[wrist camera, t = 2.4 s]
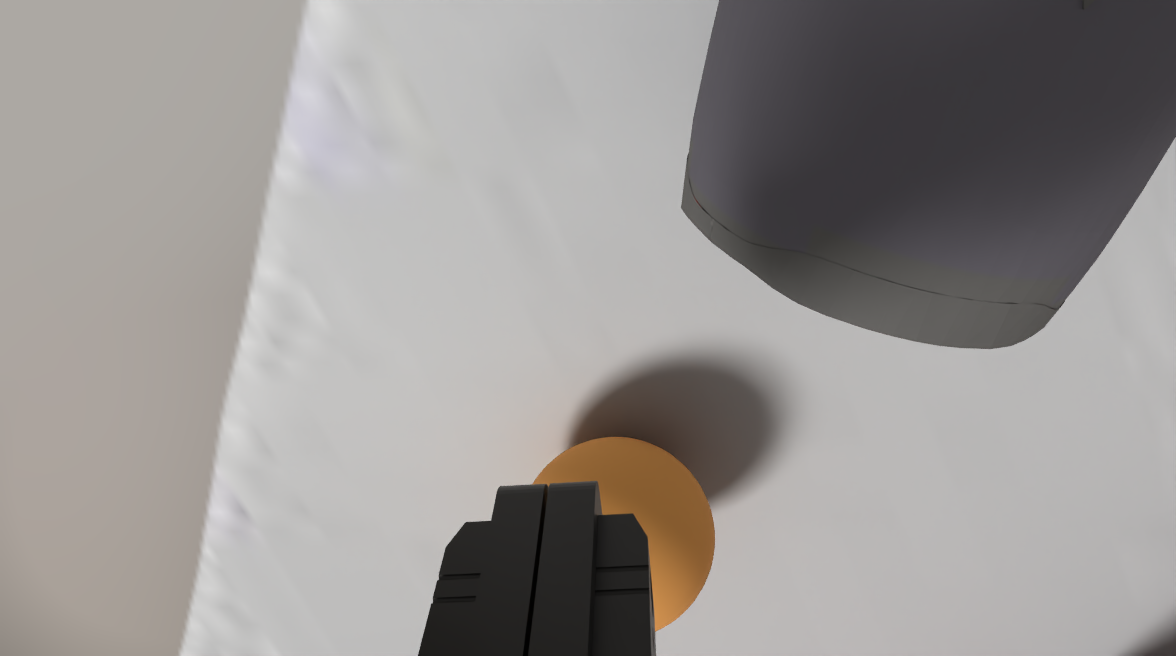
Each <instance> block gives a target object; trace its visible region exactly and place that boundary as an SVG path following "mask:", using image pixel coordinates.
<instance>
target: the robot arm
mask: <svg viewBox="0 0 1176 656" xmlns="http://www.w3.org/2000/svg"><path fill="white" fill-rule="evenodd" d="M418 656H656V645H655V616H654V601H653V590H652V579H651V568H650V557H649V545H648V537H647V535H646V533H645V532H644V530H643V529H642V527H641V525H640V524H639V522H638V521H637V519H636V517H635V516H634V514H633V513H630V514H611V515H602V507H601V499H600V491H599V485H598V481H584V482H566V483H550V485H549V487H548V485H547V484H533V485H515V486H500V487H499V488H498V491H497V494H496V499H495V504H494V509H493V514H492V519H491V521H480V522H466V523H465V524H464V525H463V526H462V528H461V529H460V530H459V531H458V533H457V534H456V535H455V536H454V538H453V539H452V540H451V541H450V543H449V544H448V545H447V546H446V549H445V553H444V557H443V561H442V564H441V568H440V572H439V580H437V584H436V588H435V592H434V595H433V604H431V607H430V611H429V615H428V619H427V623H426V627H425V630H424V634H423V638H422V642H421V646H420V650H419V654H418Z"/></svg>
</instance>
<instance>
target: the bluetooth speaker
mask: <svg viewBox="0 0 1176 656" xmlns="http://www.w3.org/2000/svg"><path fill="white" fill-rule="evenodd" d="M1175 137H1176V0H719V4H718V8H717V13H716V17H715V21H714V25H713V30H712V34H711V38H710V43H709V47H708V52H707V56H706V61H705V66H704V70H703V75H702V80H701V84H700V89H699V94H698V98H697V103H696V108H695V113H694V118H693V125H692V133H691V141H690V148H689V154H688V156H687V164H686V172H685V180H684V189H683V197H682V205H681V208H682V210H683V211H684V213H685V214H686V216H687V217H688V218H689V219H690V220H691V221H692V223H693V224H694V225H695V226H696V227H697V228H698V229H699V230H700V231H701V232H702V233H703V234H704V235H705V236H706V237H707V238H708V239H709V240H710V241H711V242H712V243H713V244H714V245H716V246H717V247H718V248H720V249H721V250H722V251H724V252H725V253H726V254H728V255H729V256H730V257H732V258H733V259H734V260H736V261H737V262H739V263H740V264H742V265H743V266H745V267H746V268H747V269H749V270H750V271H751V272H752V273H754V274H755V275H756V276H758V277H759V278H760V279H762V280H763V281H764V282H765V283H767V284H768V285H769V286H771V287H772V288H773V289H775V290H777V291H778V292H780V293H781V294H783V295H785V296H786V297H788V298H790V299H791V300H793V301H795V302H797V303H798V304H800V305H803V306H805V307H807V308H810V309H812V310H814V311H817V312H819V313H821V314H824V315H826V316H829V317H832V318H835V319H838V320H841V321H844V322H847V323H850V324H853V325H855V326H858V327H861V328H865V329H868V330H872V331H876V332H879V333H883V334H886V335H890V336H894V337H898V338H903V339H907V340H911V341H916V342H921V343H927V344H933V345H939V346H947V347H957V348H979V349H993V348H1001V347H1007V346H1012V345H1014V344H1017V343H1019V342H1021V341H1024V340H1026V339H1027V338H1029V337H1031V336H1033V335H1034V334H1036V333H1037V332H1038V331H1040V330H1041V329H1042V328H1044V327H1045V325H1046V324H1047V323H1048V322H1049V320H1050V319H1051V318H1052V317H1053V316H1054V314H1055V313H1056V312H1057V311H1058V310H1059V308H1060V307H1061V306H1062V304H1063V303H1064V302H1065V300H1066V298H1067V297H1068V296H1069V295H1070V293H1071V292H1072V291H1073V290H1074V288H1075V287H1076V286H1077V284H1078V283H1079V282H1080V280H1081V279H1082V278H1083V277H1084V275H1085V274H1086V273H1087V271H1088V270H1089V269H1090V267H1091V266H1092V265H1093V263H1094V262H1095V261H1096V259H1097V258H1098V257H1099V255H1100V254H1101V252H1102V251H1103V249H1104V248H1105V247H1106V245H1107V244H1108V242H1109V241H1110V239H1111V238H1112V236H1113V235H1114V233H1115V232H1116V230H1117V229H1118V227H1119V226H1120V224H1121V223H1122V221H1123V220H1124V218H1125V217H1126V215H1127V214H1128V212H1129V211H1130V209H1131V208H1132V206H1133V204H1134V203H1135V201H1136V200H1137V198H1138V197H1139V195H1140V194H1141V192H1142V191H1143V189H1144V187H1145V186H1146V184H1147V182H1148V181H1149V179H1150V178H1151V176H1152V174H1153V173H1154V171H1155V169H1156V168H1157V166H1158V165H1159V163H1160V161H1161V160H1162V158H1163V156H1164V155H1165V153H1166V152H1167V150H1168V148H1169V147H1170V145H1171V143H1172V142H1173V140H1174V138H1175Z"/></svg>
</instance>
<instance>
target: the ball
mask: <svg viewBox="0 0 1176 656" xmlns="http://www.w3.org/2000/svg"><path fill="white" fill-rule="evenodd" d="M584 481H598V485H599V491H600V499H601V507H602V515H611V514H630V513H633V514H634V516H635V517H636V519H637V521H638V522H639V524H640V525H641V527H642V529H643V530H644V532H645V533H646V535H647V537H648V545H649V557H650V568H651V579H652V590H653V601H654V616H655V632H656V631H658V630H659V629H661V628H663V627H665V626H667V625H668V624H670V623H671V622H673V621H674V620H676V619H677V618H678V617H679V616H680V615H682V614H683V613H684V612H685V611H686V610H687V609H688V608H689V607H690V605H691V604H692V603H693V602H694V601H695V599H696V598H697V596H698V594H699V593H700V591H701V589H702V588H703V586H704V584H705V582H706V579H707V577H708V574H709V572H710V569H711V565H712V561H713V555H714V548H715V530H714V522H713V517H712V513H711V509H710V506H709V503H708V500H707V498H706V496H705V494H704V492H703V490H702V488H701V486H700V484H699V483H698V482H697V480H696V479H695V477H694V476H693V475H692V473H691V472H690V471H689V470H688V469H687V468H686V467H685V466H684V464H682V463H681V462H680V461H679V460H678V459H676V458H675V457H674V456H673V455H671V454H670V453H668V452H667V451H665V450H663V449H662V448H660V447H657V446H655V445H653V444H651V443H648V442H645V441H642V440H638V439H633V438H627V437H604V438H598V439H593V440H589V441H586V442H584V443H581V444H578V445H576V446H574V447H572V448H569V449H568V450H566V451H565V452H563V453H561V454H560V455H559V456H557V457H556V458H555V459H554V460H553V461H551V462H550V463H549V464H548V465H547V466H546V467H545V468H544V469H543V470H542V472H541V473H540V474H539V475H538V477H537V478H536V479H535V481H534V483H533V484H547V485H548V487H549V485H550V483H566V482H584ZM533 484H532V485H533Z"/></svg>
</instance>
